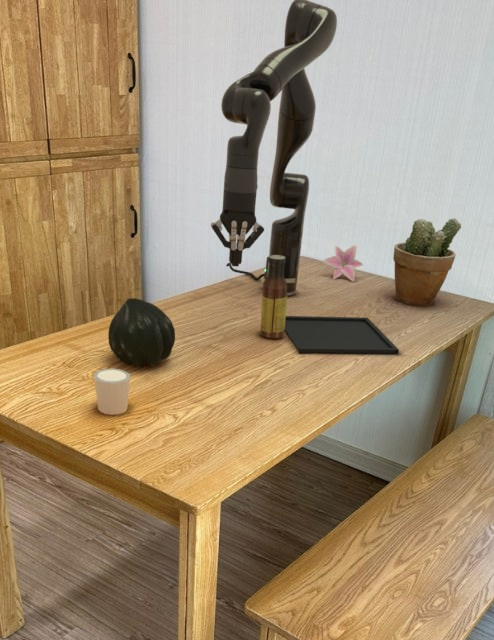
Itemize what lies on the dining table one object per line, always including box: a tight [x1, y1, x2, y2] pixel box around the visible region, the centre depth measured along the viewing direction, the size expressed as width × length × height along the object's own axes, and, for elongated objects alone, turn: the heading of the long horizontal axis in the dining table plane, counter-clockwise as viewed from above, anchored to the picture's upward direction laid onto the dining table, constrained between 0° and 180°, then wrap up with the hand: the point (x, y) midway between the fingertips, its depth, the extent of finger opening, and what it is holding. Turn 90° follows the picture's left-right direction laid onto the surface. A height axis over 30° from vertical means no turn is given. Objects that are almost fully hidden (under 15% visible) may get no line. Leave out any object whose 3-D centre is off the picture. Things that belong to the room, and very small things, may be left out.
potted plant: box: [392, 218, 462, 307], centre depth 211 cm, size 18×19×25 cm
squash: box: [107, 297, 176, 367], centre depth 155 cm, size 14×15×15 cm
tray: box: [284, 315, 400, 355], centre depth 183 cm, size 26×24×1 cm
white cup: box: [93, 368, 131, 416], centre depth 135 cm, size 7×7×7 cm
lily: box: [323, 244, 364, 282], centre depth 232 cm, size 12×12×10 cm
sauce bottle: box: [260, 255, 288, 340], centre depth 174 cm, size 6×6×20 cm
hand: (234, 265), depth 168 cm, fingers closed
